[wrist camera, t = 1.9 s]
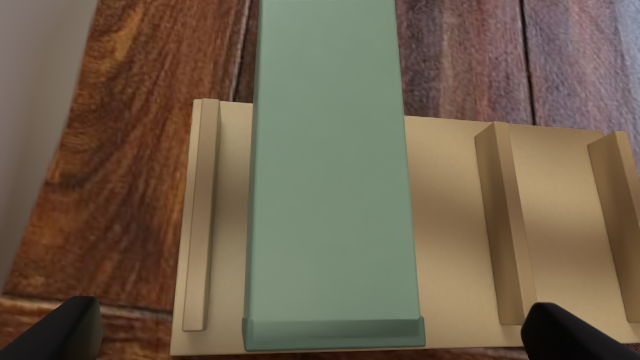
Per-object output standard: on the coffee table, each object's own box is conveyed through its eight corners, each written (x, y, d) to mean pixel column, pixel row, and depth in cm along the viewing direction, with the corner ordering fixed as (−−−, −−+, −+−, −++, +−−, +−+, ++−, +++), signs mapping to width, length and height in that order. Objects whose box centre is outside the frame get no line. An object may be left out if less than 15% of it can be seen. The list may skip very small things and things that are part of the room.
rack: (642, 341, 22) (695, 345, 19) (171, 354, 18) (160, 361, 15) (593, 136, 26) (632, 115, 23) (194, 106, 22) (189, 76, 19)
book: (322, 330, 19) (427, 347, 8) (241, 331, 18) (244, 352, 8) (320, 125, 22) (393, -47, 11) (250, 120, 21) (262, -67, 11)
